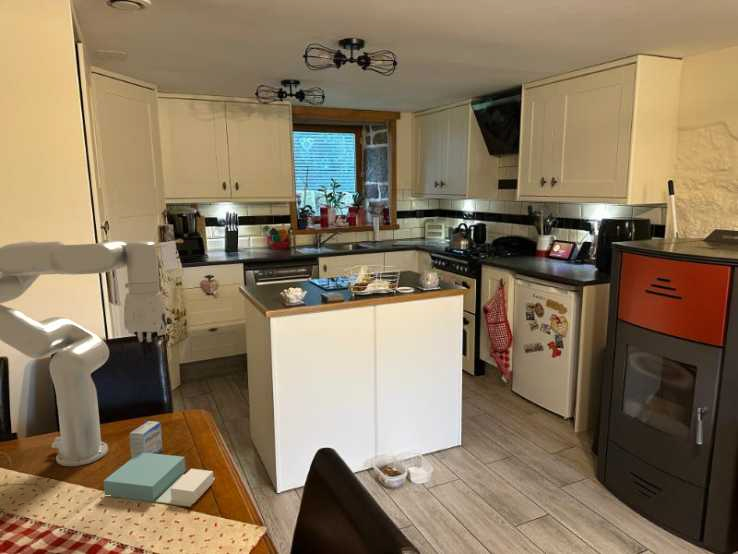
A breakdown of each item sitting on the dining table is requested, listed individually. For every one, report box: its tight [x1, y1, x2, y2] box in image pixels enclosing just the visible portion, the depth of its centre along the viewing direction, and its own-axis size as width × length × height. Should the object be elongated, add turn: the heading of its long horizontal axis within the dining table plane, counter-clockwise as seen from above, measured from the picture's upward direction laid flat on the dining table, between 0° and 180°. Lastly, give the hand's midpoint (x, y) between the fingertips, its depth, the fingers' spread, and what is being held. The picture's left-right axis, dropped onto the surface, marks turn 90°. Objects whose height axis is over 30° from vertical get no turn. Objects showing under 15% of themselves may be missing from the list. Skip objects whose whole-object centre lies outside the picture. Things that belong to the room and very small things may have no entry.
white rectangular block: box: [170, 468, 214, 504], centre depth 125 cm, size 6×9×3 cm, turn 168°
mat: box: [154, 473, 216, 508], centre depth 126 cm, size 9×12×1 cm
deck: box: [103, 452, 186, 503], centre depth 129 cm, size 13×14×4 cm
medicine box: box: [129, 420, 163, 460], centre depth 141 cm, size 8×4×9 cm, turn 168°
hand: (148, 354), depth 138 cm, fingers closed
